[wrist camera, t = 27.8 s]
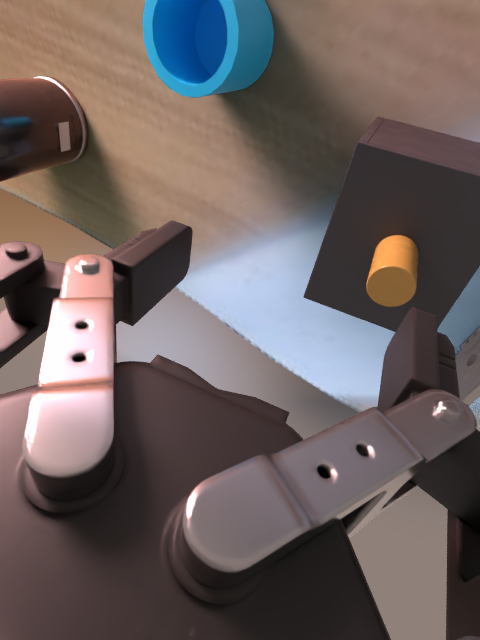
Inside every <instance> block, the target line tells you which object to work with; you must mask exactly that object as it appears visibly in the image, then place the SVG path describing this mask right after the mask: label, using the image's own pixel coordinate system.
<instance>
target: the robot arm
mask: <svg viewBox="0 0 480 640" xmlns="http://www.w3.org/2000/svg"><path fill="white" fill-rule="evenodd" d="M87 140H88V131H87V124H86V120H85V117H84V114H83V111H82V109H81V107H80V105H79V103H78V101H77V100H76V98H75V97H74V95H73V94H72V93H71V91H70V90H69V89H68V88H67V87H66V86H65V85H64V84H62V83H61V82H59V81H58V80H56V79H54V78H51V77H47V76H40V77H34V78H21V79H0V182H1V181H4V180H8V179H11V178H14V177H18V176H21V175H25V174H28V173H32V172H35V171H39V170H42V169H46V168H49V167H53V166H56V165H60V164H63V163H70V162H73V161H76V160H78V159H79V158H80V157H81V156H82V155H83V153H84V152H85V149H86V146H87ZM191 244H192V228H191V227H189V226H186V225H184V224H181V223H178V222H175V221H170V222H168V223H167V224H165V225H163V226H162V227H160V228H159V229H156V228H155V229H151V230H147V231H143V232H141V233H139V234H138V235H136V236H135V237H133V239H132V238H131V239H130V240H128V241H127V242H126V243H123V244H122V245H120V246H119V247H117V248H115V249H114V250H112V251H111V252H109V253H107V254H106V255H104V256H101V255H95V254H83V255H77V256H74V257H72V258H71V259H69V260H68V261H67V262H66V263H65V264H64V263H57V262H51V261H46V260H44V259H43V253H42V250H41V248H40V247H39V246H37V245H35V244H33V243H29V242H9V243H4V244H1V245H0V298H2V297H4V300H5V304H6V307H7V308H6V309H4V310H3V311H1V312H0V368H1V367H2V366H3V365H4V364H6V363H7V362H8V361H10V360H11V359H12V358H13V357H15V356H16V355H17V354H18V353H20V352H21V351H22V350H23V349H24V348H26V347H27V346H28V345H29V344H31V343H32V342H33V341H34V340H35V339H37V338H38V337H39V336H40V335H42V334H43V333H44V332H45V331H47V330H48V332H47V338H46V343H45V349H44V355H43V360H42V366H41V371H40V377H39V383H38V384H37V385H34V386H30V387H26V388H23V389H19V390H16V391H12V392H9V393H5V394H1V395H0V640H391V639H390V636H389V634H388V632H387V629H386V627H385V624H384V622H383V619H382V617H381V615H380V613H379V610H378V608H377V605H376V602H375V600H374V598H373V595H372V593H371V590H370V588H369V586H368V583H367V581H366V578H365V576H364V574H363V571H362V569H361V566H360V564H359V561H358V559H357V557H356V554H355V552H354V549H353V547H352V545H351V542H350V540H349V538H350V537H351V536H353V535H354V534H355V533H357V532H358V531H359V530H360V529H362V528H363V527H364V526H365V525H366V524H367V523H369V522H370V521H371V520H372V519H373V518H374V517H376V516H377V515H379V514H380V513H382V512H383V511H385V510H386V509H387V508H389V507H390V506H392V505H393V504H395V503H396V502H397V501H399V500H400V499H402V498H403V497H405V496H406V495H408V494H409V493H410V492H412V491H413V490H415V489H416V488H418V487H420V488H421V489H422V490H424V491H425V492H427V493H428V494H429V495H430V496H432V497H433V498H434V499H436V500H437V501H438V502H439V503H441V504H442V505H443V506H445V507H446V508H447V509H448V524H447V526H448V527H447V610H446V615H447V616H446V640H480V432H479V431H478V430H477V429H476V426H477V422H476V418H475V416H474V414H473V412H472V411H471V409H470V408H469V407H468V406H467V405H466V404H465V403H464V402H463V401H462V400H460V395H459V386H458V377H457V370H456V361H455V350H454V347H453V345H452V343H451V342H450V340H449V339H448V337H447V336H446V335H444V334H441V333H438V332H437V320H436V315H433V314H431V313H428V312H425V311H422V310H420V309H417V308H414V307H412V308H411V309H410V310H409V311H408V313H407V314H406V316H405V318H404V319H403V321H402V323H401V324H400V326H399V328H398V329H397V331H396V333H395V335H394V336H393V338H392V340H391V341H390V343H389V345H388V347H387V350H386V353H385V356H384V362H383V369H382V377H381V385H380V393H379V401H378V407H372V408H370V409H367V410H365V411H363V412H361V413H359V414H357V415H355V416H353V417H351V418H349V419H347V420H344V421H342V422H340V423H338V424H336V425H334V426H332V427H330V428H328V429H326V430H324V431H321V432H319V433H317V434H315V435H313V436H311V437H309V438H307V439H305V440H303V438H302V437H301V436H300V435H299V434H298V433H297V432H296V431H295V430H293V428H291V427H290V426H289V425H287V424H286V420H287V417H288V415H289V412H287V411H285V410H283V409H280V408H278V407H276V406H274V405H271V404H269V403H267V402H264V401H262V400H260V399H257V398H256V397H251V396H246V395H242V394H237V393H232V392H228V391H223V390H219V389H217V388H215V387H213V386H212V385H211V384H209V383H208V382H207V381H205V380H204V379H203V378H201V377H200V376H199V375H197V374H196V373H194V372H193V371H192V370H190V369H189V368H187V367H185V366H183V365H180V364H178V363H176V362H174V361H171V360H169V359H167V358H164V357H162V356H160V355H157V356H156V357H155V358H154V359H153V360H152V362H151V363H147V362H135V361H133V362H131V361H129V362H120V363H117V352H116V324H117V323H118V322H119V321H122V322H124V323H127V324H129V325H131V326H133V325H134V324H135V323H137V322H138V321H139V320H140V319H141V318H142V317H143V316H144V315H145V314H146V313H147V312H148V311H149V310H150V309H152V308H153V307H154V306H155V305H156V304H157V303H158V302H159V301H160V300H161V299H162V298H163V297H165V296H166V294H167V293H169V292H170V291H171V290H172V289H173V288H174V287H175V286H176V285H177V284H179V283H180V282H181V281H182V280H183V279H184V277H185V276H186V274H187V271H188V268H189V263H190V254H191Z"/></svg>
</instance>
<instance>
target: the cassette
mask: <svg viewBox="0 0 480 640" xmlns="http://www.w3.org/2000/svg"><path fill="white" fill-rule="evenodd" d="M460 347H461V350H460V351H459V352H458V353H457V354H456V355H455V361H456V370H457V377H458V386H459V395H460V400H462V401H463V402H464V403H465V404H466V405H467V406H469V405H470V404H472V403H473V402H474V401H475V400H476V399H477V398H479V397H480V327H479V328H478V329H477V330H476V331H475V332H474V333H473V334H472V335H471V336H470V337H469V338H468V339H467V340H466V341H465V342H464V343H463V344H462V345H461V346H460Z"/></svg>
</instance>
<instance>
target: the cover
mask: <svg viewBox="0 0 480 640" xmlns="http://www.w3.org/2000/svg"><path fill="white" fill-rule="evenodd" d="M479 266H480V143H477V142H473V141H469V140H466V139H462V138H458V137H454V136H450V135H446V134H443V133H439V132H435V131H431V130H427V129H423V128H420V127H416V126H412V125H408V124H404V123H400V122H397V121H393V120H389V119H384V118H381V117H378V118H377V119H376V120H375V121H374V123H373V124H372V125H371V126H370V127H369V129H368V130H367V131H366V132H365V133H364V135H363V136H362V137H361V138H360V139H359V141H358V142H357V144H356V147H355V150H354V153H353V156H352V158H351V161H350V164H349V167H348V170H347V173H346V176H345V179H344V182H343V184H342V187H341V190H340V193H339V196H338V199H337V202H336V205H335V208H334V210H333V213H332V216H331V219H330V222H329V225H328V228H327V231H326V234H325V236H324V239H323V242H322V245H321V248H320V251H319V254H318V257H317V260H316V262H315V265H314V268H313V271H312V274H311V277H310V280H309V283H308V285H307V288H306V291H305V294H304V298H307V299H309V300H312V301H315V302H317V303H320V304H323V305H325V306H328V307H331V308H333V309H336V310H338V311H341V312H344V313H346V314H349V315H352V316H354V317H357V318H360V319H362V320H365V321H368V322H370V323H373V324H376V325H378V326H381V327H384V328H386V329H389V330H392V331H394V332H396V331H397V329H398V328H399V326H400V324H401V323H402V321H403V319H404V318H405V316H406V314H407V313H408V311H409V310H410V309H411V308H412V307H414V308H417V309H420V310H422V311H425V312H428V313H431V314H433V315H436V320H437V328H438V327H439V325H440V324H441V322H442V321H443V319H444V318H445V316H446V315H447V313H448V312H449V310H450V309H451V307H452V306H453V304H454V303H455V302H456V300H457V299H458V297H459V296H460V294H461V293H462V291H463V290H464V288H465V287H466V285H467V284H468V282H469V281H470V279H471V278H472V276H473V275H474V273H475V272H476V270H477V269H478V267H479Z"/></svg>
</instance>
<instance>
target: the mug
mask: <svg viewBox="0 0 480 640" xmlns="http://www.w3.org/2000/svg"><path fill="white" fill-rule="evenodd" d="M143 33H144V43H145V46H146V50H147V53H148V57H149V60H150V62H151V64H152V66H153V68H154V69H155V71H156V73H157V75H158V76H159V78H160V79H161V80H162V81H163V82H164V83H165V84H166V85H167V86H168V87H169V88H170V89H172V90H173V91H175V92H177V93H179V94H181V95H182V96H189V97H196V98H197V97H203V96H208V95H214V94H220V93H226V92H232V91H237V90H240V89H244V88H247V87H249V86H250V85H251V84H253V83H254V82H255V81H257V80H258V79H259V77H260V76H261V74H262V73H263V72H264V70H265V69H266V67H267V65H268V62H269V59H270V56H271V54H272V49H273V39H274V29H273V22H272V15H271V13H270V11H269V8H268V6H267V4H266V1H265V0H146V1H145V8H144V14H143Z"/></svg>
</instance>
